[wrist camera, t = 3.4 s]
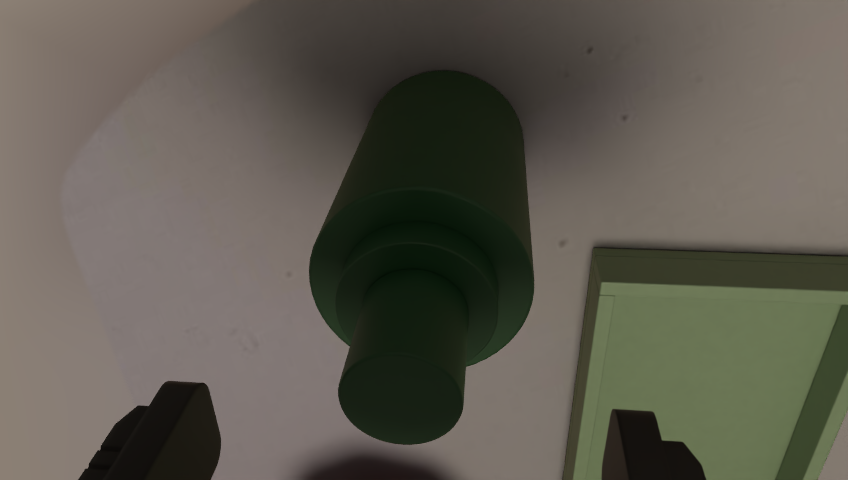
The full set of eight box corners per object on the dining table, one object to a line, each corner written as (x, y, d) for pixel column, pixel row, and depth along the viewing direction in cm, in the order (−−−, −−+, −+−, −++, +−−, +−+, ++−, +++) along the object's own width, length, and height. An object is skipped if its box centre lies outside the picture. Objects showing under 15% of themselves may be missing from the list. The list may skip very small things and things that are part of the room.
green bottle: (335, 144, 25) (206, 391, 14) (444, 34, 23) (391, 230, 12) (444, 241, 27) (406, 527, 16) (556, 149, 24) (603, 413, 13)
